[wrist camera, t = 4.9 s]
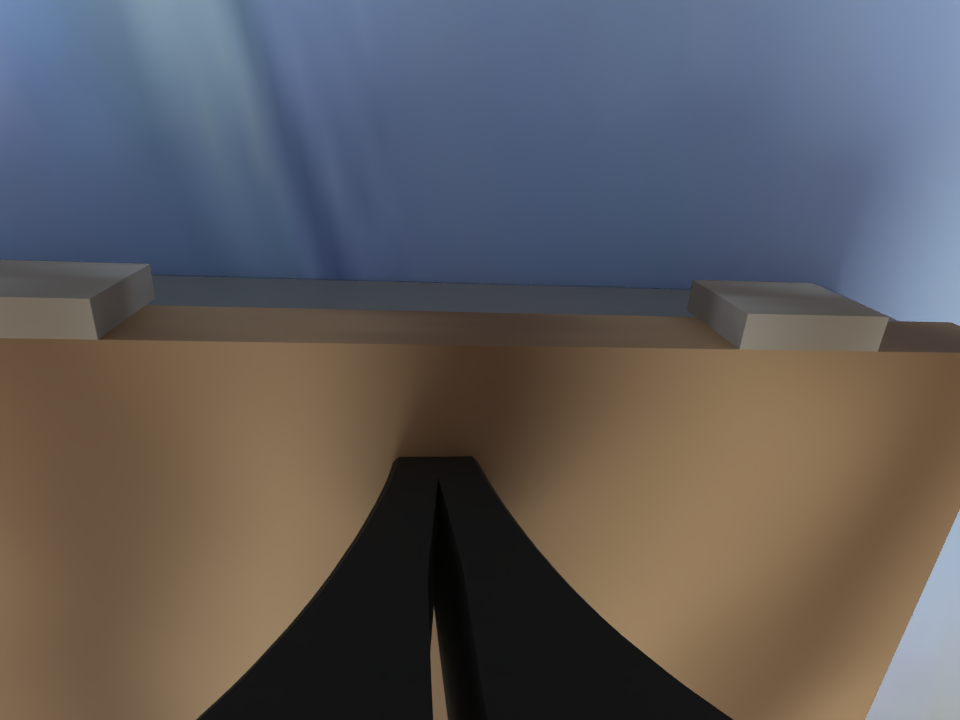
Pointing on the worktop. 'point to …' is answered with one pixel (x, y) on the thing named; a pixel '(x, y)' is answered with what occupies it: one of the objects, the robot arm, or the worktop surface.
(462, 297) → the cable duct
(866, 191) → the worktop surface
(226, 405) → the tan flat wooden board
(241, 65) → the worktop surface
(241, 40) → the worktop surface
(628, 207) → the worktop surface
